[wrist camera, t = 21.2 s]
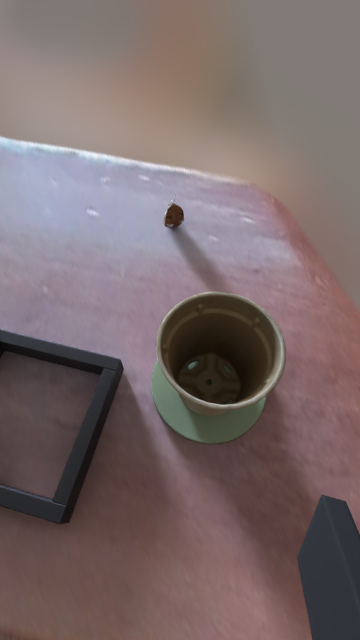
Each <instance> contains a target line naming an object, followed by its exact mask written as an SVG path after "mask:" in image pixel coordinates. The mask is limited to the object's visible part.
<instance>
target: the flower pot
mask: <svg viewBox="0 0 360 640" xmlns="http://www.w3.org/2000/svg"><path fill="white" fill-rule="evenodd" d="M156 353H157V359H158V362H159V365H160V368H161V370H162V372H163V374H164V376H165V378H166V379H167V381H168V382H169V384H170V385H171V386H172V387H173V388H174V389H175V390H176V391H177V392H178V395H179V397H180V399H181V400H182V402H183V403H184V404H185V405H186V406H187V407H188V408H189V409H190V410H192V411H193V412H195V413H197V414H201V415H205V416H218V415H222V414H224V413H226V412H228V411H230V410H235V409H240V408H244V407H247V406H250V405H252V404H254V403H256V402H258V401H260V400H261V399H263V398H264V397H265V396H266V395H268V394H269V393H270V392H271V391H272V389H273V388H274V387H275V386H276V384H277V383H278V381H279V379H280V378H281V376H282V373H283V370H284V366H285V361H286V349H285V342H284V339H283V336H282V333H281V330H280V329H279V327H278V325H277V324H276V322H275V321H274V319H273V318H272V317H271V316H270V315H269V314H268V313H267V311H266V310H264V309H263V308H262V307H260V306H259V305H258V304H256V303H254V302H253V301H251V300H249V299H247V298H245V297H242V296H239V295H236V294H231V293H227V292H207V293H201V294H197V295H194V296H191V297H189V298H187V299H185V300H183V301H181V302H180V303H178V304H177V305H176V306H175V307H174V308H172V310H171V311H170V312H169V313H168V314H167V315H166V317H165V318H164V320H163V322H162V323H161V326H160V328H159V330H158V335H157V340H156ZM195 361H199V364H198V365H196V366H195V367H193V368H192V369H191V370H190V369H189V368H188V366H189V364H191V363H193V362H195ZM224 365H226V366H227V367H228V368H229V369H230V370H231V374H229V373H228V371H225V370H226V369H225V368H224ZM208 380H211V382H212V383H211V384H208V383H207V381H208ZM229 398H230V399H232V402H231V404H227V405H222V404H224V403H225V402H226V401H227V400H228V399H229Z"/></svg>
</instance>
